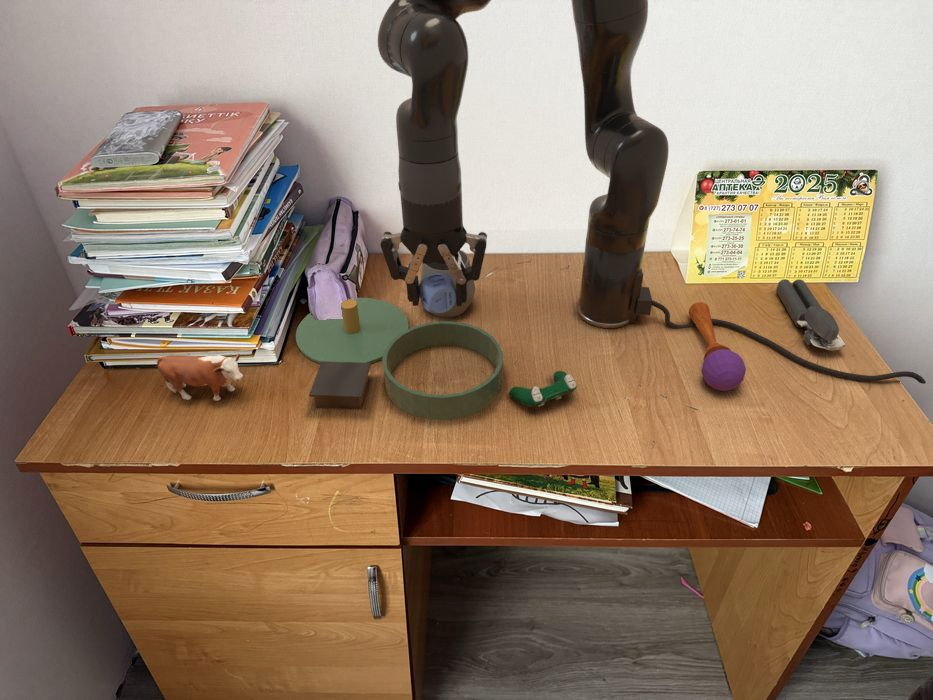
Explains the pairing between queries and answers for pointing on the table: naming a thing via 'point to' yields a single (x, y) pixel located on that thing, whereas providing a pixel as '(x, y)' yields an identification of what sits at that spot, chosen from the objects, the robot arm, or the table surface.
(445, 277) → the decorative dice
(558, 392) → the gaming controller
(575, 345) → the table surface
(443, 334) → the tin
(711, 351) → the purple maraca
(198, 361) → the bull figurine
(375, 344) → the tin lid
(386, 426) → the table surface
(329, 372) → the stand
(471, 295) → the cup
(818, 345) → the can opener
